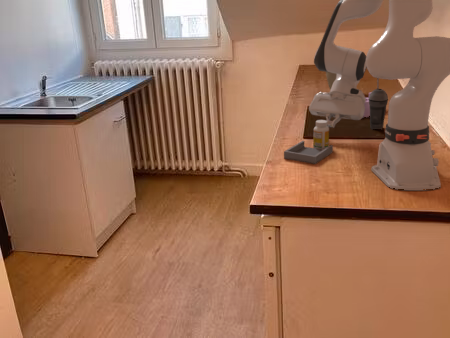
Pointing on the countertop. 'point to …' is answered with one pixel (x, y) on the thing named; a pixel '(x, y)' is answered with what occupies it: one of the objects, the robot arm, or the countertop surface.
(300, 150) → the tray
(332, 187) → the countertop surface
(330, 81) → the plant pot
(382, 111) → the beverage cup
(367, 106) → the clip
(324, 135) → the supplement bottle
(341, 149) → the countertop surface
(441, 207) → the countertop surface
